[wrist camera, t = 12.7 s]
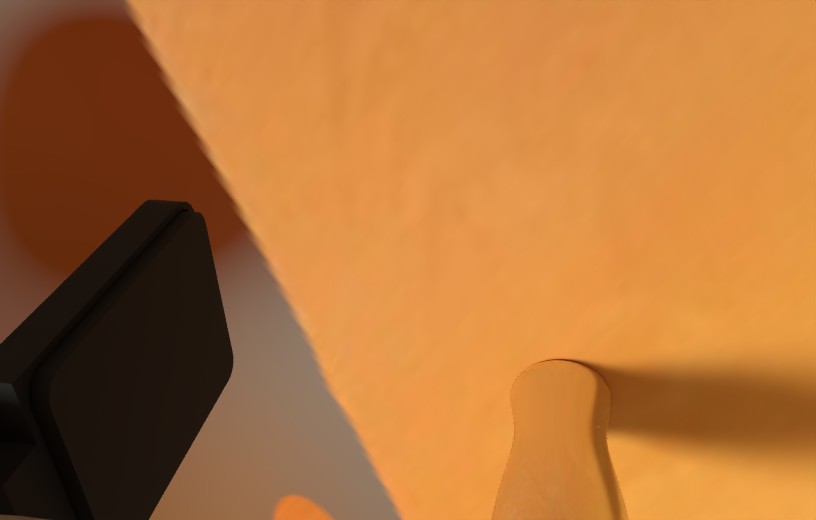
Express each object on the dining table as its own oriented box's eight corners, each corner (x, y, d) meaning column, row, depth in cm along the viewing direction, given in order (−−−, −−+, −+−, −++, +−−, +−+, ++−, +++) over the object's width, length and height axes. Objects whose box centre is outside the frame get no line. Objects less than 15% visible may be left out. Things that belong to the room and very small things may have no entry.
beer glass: (559, 454, 49) (559, 686, 36) (479, 394, 47) (450, 616, 34) (643, 400, 45) (675, 637, 33) (559, 333, 43) (559, 556, 31)
